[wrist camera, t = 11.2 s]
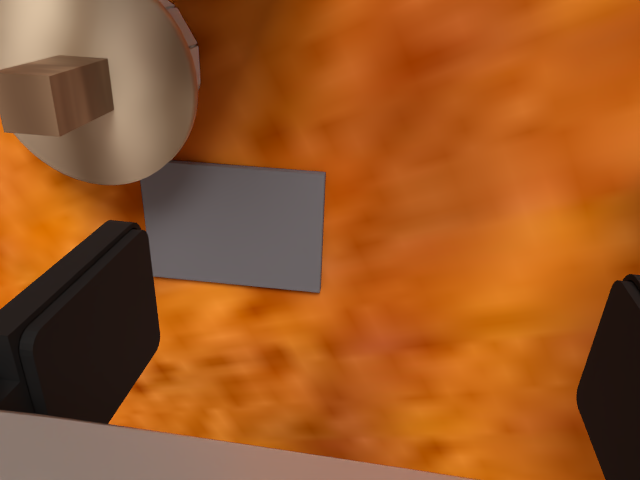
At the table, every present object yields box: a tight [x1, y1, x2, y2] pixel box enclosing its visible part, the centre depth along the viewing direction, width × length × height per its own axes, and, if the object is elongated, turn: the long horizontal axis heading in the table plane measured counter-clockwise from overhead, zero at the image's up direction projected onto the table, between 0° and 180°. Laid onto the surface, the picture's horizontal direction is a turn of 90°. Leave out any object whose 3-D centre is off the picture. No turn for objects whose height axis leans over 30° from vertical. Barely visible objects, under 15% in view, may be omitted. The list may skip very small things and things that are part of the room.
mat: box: [140, 160, 326, 293], centre depth 42 cm, size 14×10×1 cm
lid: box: [0, 0, 198, 185], centre depth 30 cm, size 13×13×7 cm
